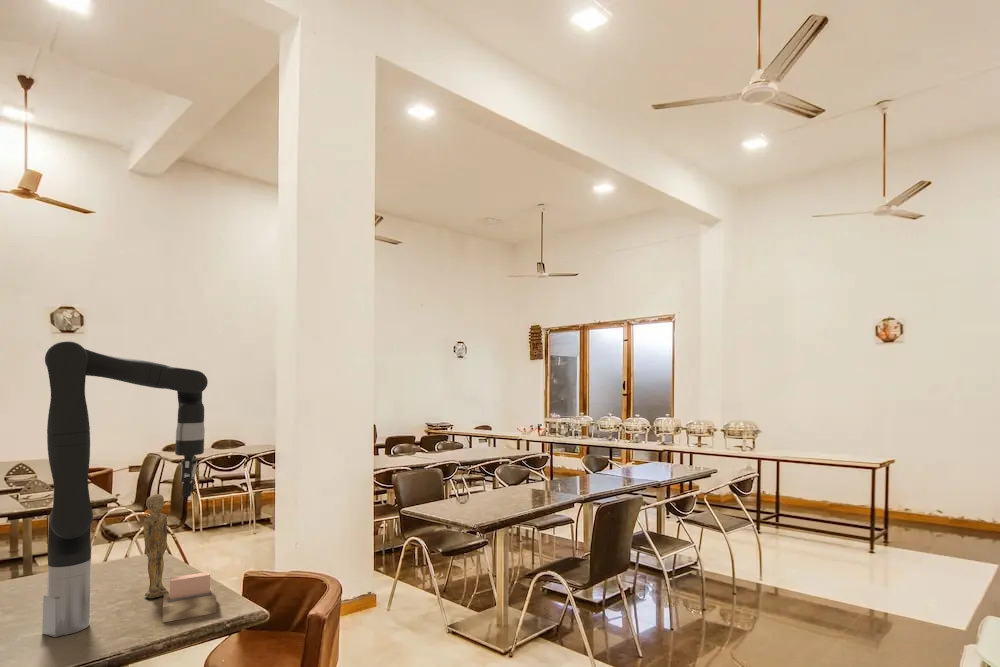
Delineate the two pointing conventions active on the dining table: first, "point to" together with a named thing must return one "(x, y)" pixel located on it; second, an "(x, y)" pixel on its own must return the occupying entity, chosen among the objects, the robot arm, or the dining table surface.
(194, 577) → the pink square prism
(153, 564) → the sculpture
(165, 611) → the dispenser
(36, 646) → the dining table surface
